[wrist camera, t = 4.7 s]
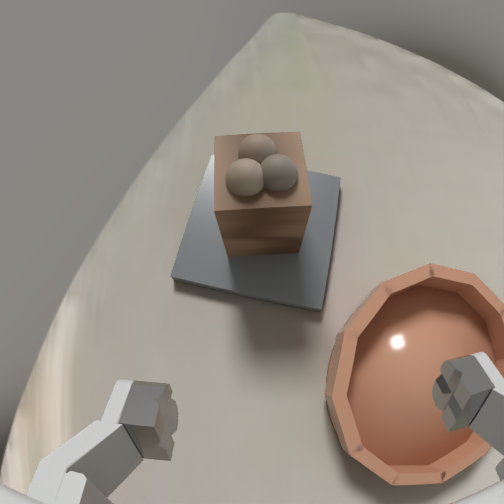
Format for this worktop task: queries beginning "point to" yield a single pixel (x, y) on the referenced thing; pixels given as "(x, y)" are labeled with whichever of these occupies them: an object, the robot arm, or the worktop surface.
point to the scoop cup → (261, 193)
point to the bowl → (410, 372)
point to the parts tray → (262, 266)
